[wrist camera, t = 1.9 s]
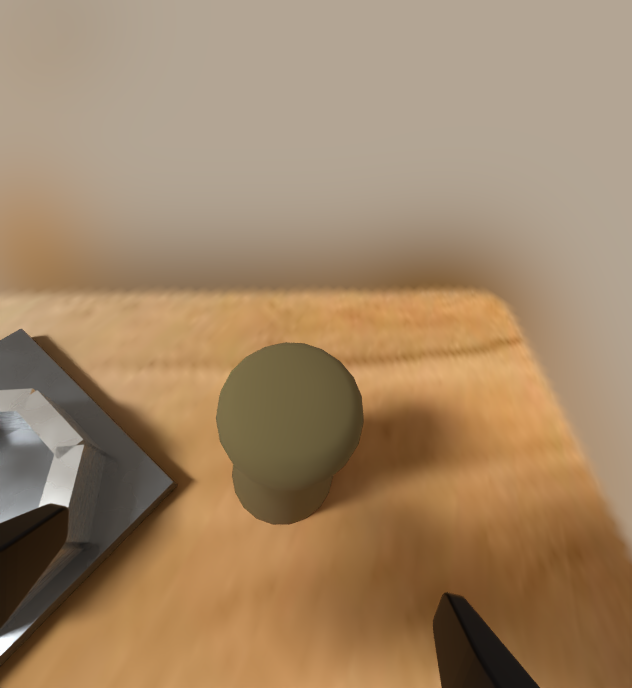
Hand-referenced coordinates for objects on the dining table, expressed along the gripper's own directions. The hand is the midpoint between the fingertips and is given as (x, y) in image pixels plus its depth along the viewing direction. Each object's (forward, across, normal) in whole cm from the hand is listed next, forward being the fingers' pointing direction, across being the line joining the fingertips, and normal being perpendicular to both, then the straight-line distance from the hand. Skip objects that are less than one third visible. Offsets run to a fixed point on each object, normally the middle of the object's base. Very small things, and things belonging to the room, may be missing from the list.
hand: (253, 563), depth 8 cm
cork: (+11, 0, +5) cm, 12 cm away
